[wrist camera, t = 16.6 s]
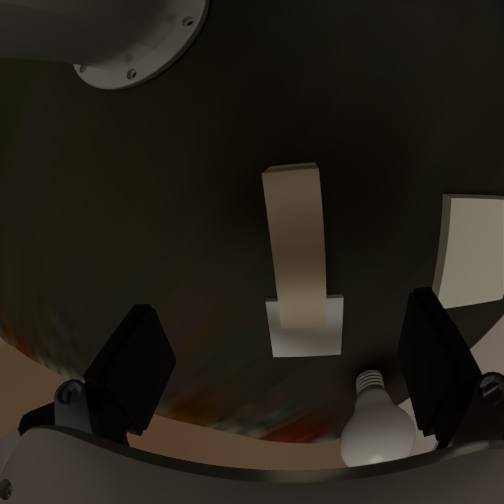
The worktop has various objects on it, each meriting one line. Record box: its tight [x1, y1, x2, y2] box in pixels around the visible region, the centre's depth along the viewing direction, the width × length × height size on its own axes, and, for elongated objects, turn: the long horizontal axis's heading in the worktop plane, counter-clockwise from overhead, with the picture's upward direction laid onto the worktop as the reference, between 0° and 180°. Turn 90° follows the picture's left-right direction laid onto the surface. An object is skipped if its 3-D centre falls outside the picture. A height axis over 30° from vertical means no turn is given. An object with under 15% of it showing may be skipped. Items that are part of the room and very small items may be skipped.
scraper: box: [262, 162, 343, 357], centre depth 19 cm, size 16×6×4 cm, turn 9°
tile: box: [432, 194, 504, 309], centre depth 17 cm, size 2×8×9 cm
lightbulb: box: [340, 370, 416, 467], centre depth 19 cm, size 6×6×11 cm
